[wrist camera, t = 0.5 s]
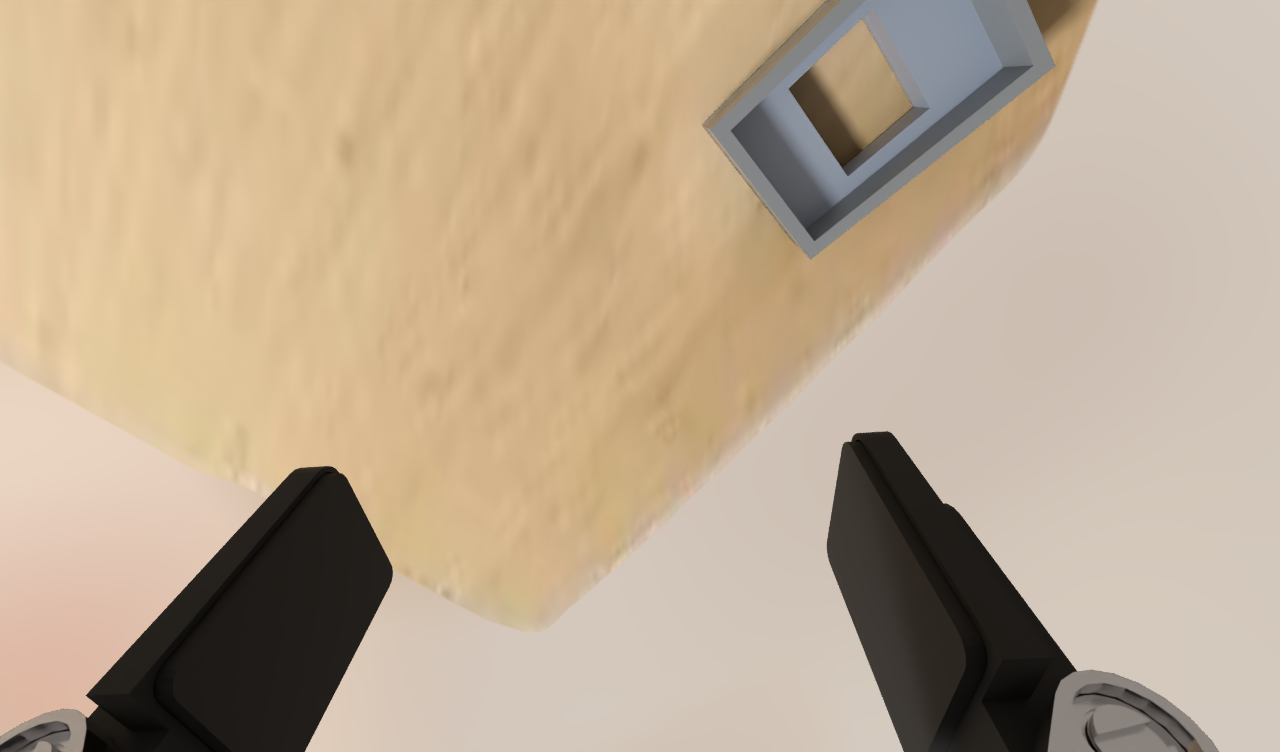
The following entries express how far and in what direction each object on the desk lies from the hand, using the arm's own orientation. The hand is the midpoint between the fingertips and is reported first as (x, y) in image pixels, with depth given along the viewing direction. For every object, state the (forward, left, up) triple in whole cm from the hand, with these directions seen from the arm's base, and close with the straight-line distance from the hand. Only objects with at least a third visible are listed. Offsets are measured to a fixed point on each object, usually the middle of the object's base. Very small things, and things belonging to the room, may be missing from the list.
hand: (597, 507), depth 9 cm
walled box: (-14, +4, -28) cm, 32 cm away
